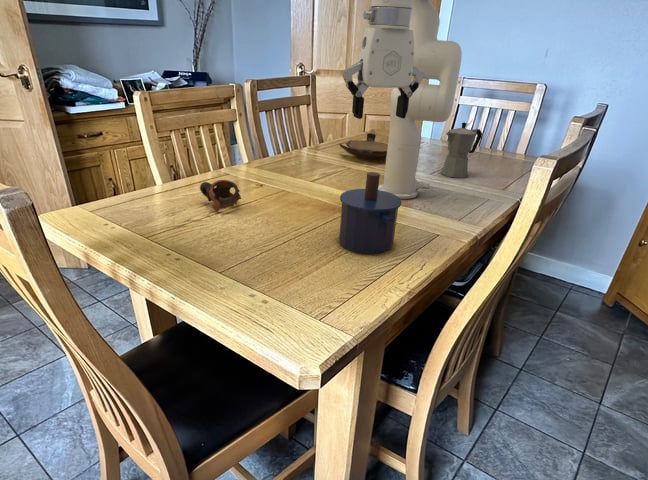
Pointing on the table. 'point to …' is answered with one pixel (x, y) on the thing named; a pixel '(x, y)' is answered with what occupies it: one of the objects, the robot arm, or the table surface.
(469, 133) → the coffeepot
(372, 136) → the brown shallow dish
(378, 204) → the lid
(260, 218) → the table surface
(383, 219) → the pot
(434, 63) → the robot arm
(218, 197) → the pottery mug
